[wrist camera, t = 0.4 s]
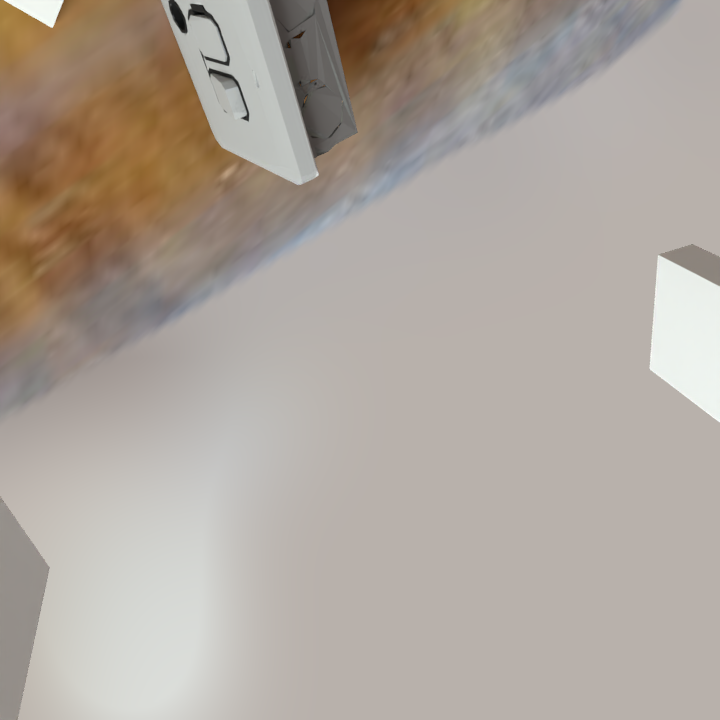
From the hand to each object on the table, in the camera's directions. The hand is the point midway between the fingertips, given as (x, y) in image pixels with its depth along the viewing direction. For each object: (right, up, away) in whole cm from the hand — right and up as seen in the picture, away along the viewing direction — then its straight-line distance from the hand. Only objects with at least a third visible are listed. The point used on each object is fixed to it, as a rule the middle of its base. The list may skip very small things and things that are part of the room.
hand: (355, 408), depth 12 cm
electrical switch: (-6, +17, +19) cm, 26 cm away
